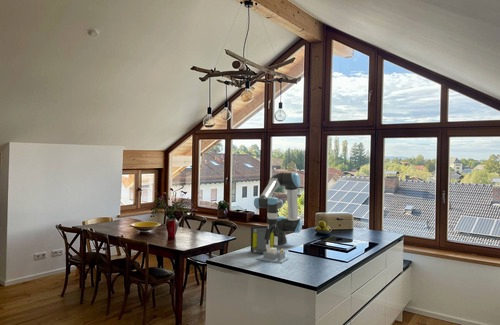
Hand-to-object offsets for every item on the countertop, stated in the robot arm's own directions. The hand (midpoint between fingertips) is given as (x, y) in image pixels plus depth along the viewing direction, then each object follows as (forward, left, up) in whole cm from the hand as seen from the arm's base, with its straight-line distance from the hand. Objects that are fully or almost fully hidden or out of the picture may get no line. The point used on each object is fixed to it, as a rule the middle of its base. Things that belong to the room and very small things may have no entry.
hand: (271, 246), depth 273 cm
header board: (0, +1, -9) cm, 9 cm away
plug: (0, 0, -8) cm, 8 cm away
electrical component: (-16, -16, -10) cm, 25 cm away
